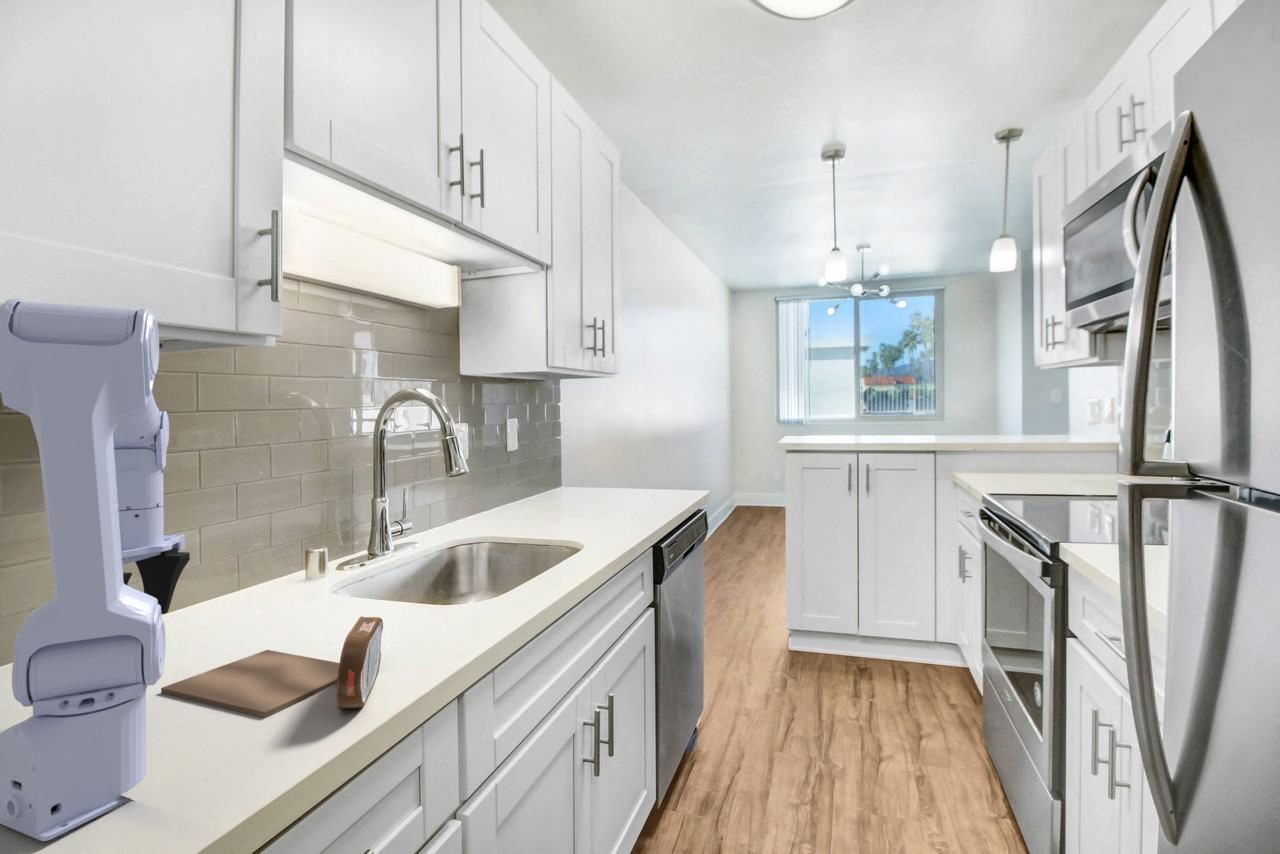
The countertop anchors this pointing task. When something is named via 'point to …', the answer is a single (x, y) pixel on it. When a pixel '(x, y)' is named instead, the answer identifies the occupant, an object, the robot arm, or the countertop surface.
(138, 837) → the countertop surface
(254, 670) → the board
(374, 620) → the tin
